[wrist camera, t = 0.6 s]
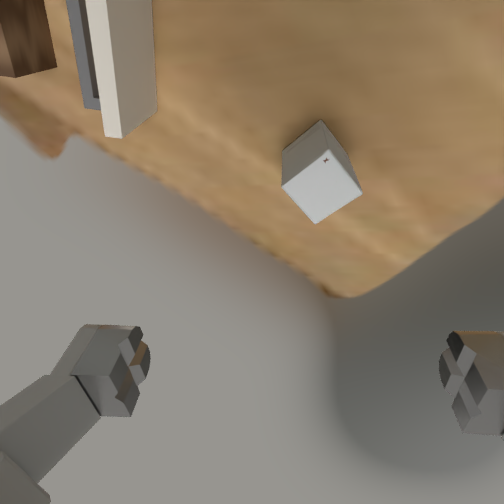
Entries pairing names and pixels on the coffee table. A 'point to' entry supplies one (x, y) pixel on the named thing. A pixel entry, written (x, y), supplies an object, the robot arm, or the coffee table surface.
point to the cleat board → (115, 60)
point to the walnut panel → (24, 38)
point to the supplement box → (318, 173)
